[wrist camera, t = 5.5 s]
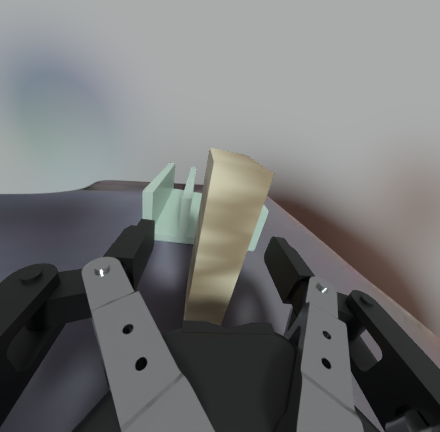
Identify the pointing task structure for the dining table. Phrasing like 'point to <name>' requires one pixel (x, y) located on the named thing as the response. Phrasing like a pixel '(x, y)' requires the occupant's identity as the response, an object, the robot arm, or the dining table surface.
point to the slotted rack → (180, 209)
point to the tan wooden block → (223, 231)
